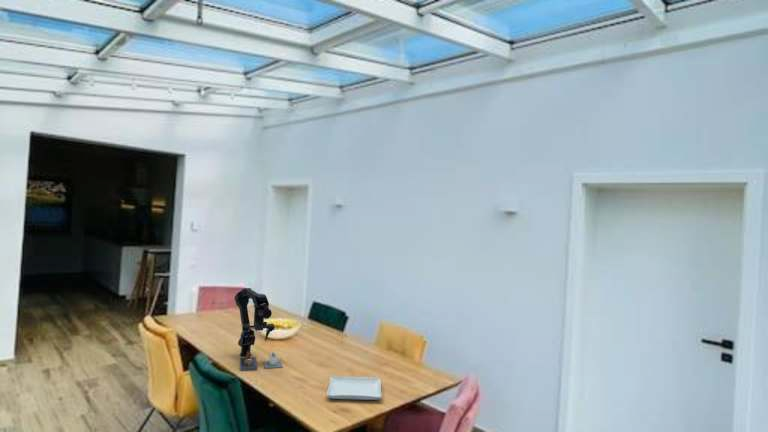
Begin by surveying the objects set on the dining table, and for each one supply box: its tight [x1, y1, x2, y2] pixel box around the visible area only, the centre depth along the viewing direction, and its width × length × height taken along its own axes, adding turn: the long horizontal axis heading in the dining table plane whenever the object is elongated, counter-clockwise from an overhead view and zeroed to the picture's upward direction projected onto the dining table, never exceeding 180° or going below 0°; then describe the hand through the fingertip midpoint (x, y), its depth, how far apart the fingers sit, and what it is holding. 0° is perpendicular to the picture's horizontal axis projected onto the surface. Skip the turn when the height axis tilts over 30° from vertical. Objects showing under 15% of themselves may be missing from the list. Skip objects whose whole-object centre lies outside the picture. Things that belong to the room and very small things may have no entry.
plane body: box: [239, 350, 258, 372], centre depth 268 cm, size 16×9×6 cm, turn 18°
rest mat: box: [263, 359, 284, 370], centre depth 273 cm, size 13×10×1 cm
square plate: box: [326, 376, 383, 401], centre depth 237 cm, size 27×27×4 cm
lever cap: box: [268, 352, 278, 366], centre depth 273 cm, size 6×4×6 cm, turn 18°
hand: (257, 341), depth 278 cm, fingers open, 9 cm apart
